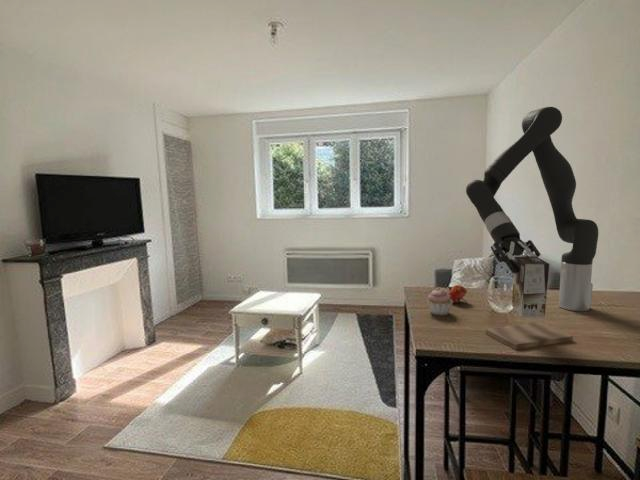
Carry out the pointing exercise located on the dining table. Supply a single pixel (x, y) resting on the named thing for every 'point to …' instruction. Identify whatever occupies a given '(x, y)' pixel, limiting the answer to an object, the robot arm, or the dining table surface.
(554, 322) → the dining table surface
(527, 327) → the walnut board
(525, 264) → the coffee box
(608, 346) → the dining table surface
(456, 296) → the pomegranate
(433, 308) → the cupcake
